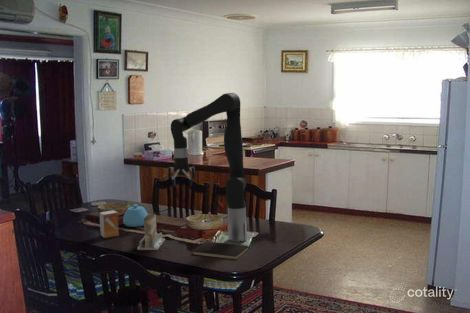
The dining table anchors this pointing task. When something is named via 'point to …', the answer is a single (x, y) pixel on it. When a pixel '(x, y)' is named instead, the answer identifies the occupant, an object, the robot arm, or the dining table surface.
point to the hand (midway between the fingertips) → (182, 186)
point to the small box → (109, 224)
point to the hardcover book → (220, 250)
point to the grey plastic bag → (155, 243)
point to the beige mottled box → (150, 228)
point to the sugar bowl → (134, 216)
